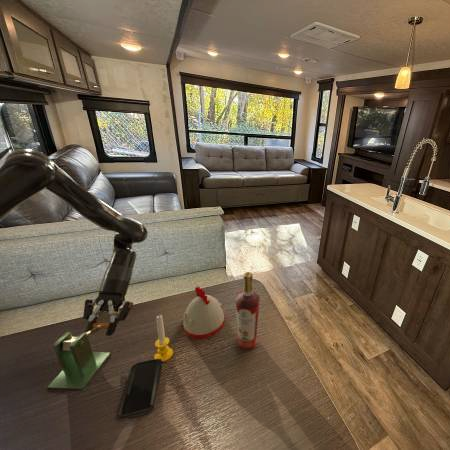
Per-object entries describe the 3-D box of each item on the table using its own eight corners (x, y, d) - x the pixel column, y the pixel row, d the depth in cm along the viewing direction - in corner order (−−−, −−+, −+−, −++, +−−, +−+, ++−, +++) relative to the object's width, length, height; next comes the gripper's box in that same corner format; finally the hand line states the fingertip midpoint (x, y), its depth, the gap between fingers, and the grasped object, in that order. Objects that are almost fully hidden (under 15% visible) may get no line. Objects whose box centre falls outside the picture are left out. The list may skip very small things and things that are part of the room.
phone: (162, 357, 75) (153, 408, 62) (162, 360, 76) (154, 411, 63) (132, 364, 72) (116, 418, 60) (132, 366, 73) (117, 421, 60)
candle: (150, 358, 76) (144, 316, 71) (165, 346, 80) (161, 306, 75) (162, 365, 74) (157, 323, 69) (176, 352, 78) (173, 312, 73)
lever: (95, 328, 78) (95, 320, 78) (111, 329, 78) (112, 321, 78) (56, 350, 65) (57, 341, 64) (76, 351, 65) (77, 342, 65)
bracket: (80, 354, 75) (69, 322, 70) (111, 355, 76) (102, 323, 71) (47, 390, 65) (31, 356, 60) (83, 391, 66) (70, 357, 61)
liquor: (233, 351, 81) (231, 280, 70) (240, 333, 88) (239, 266, 77) (255, 353, 81) (257, 283, 70) (260, 335, 87) (262, 269, 76)
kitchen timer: (211, 304, 99) (209, 273, 94) (231, 323, 91) (231, 290, 86) (176, 322, 89) (172, 289, 84) (196, 345, 81) (192, 310, 76)
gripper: (86, 276, 78) (65, 334, 72) (132, 279, 79) (115, 336, 73) (101, 280, 85) (83, 333, 79) (144, 282, 86) (130, 335, 80)
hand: (99, 334), depth 76 cm, fingers closed on lever, 5 cm apart
